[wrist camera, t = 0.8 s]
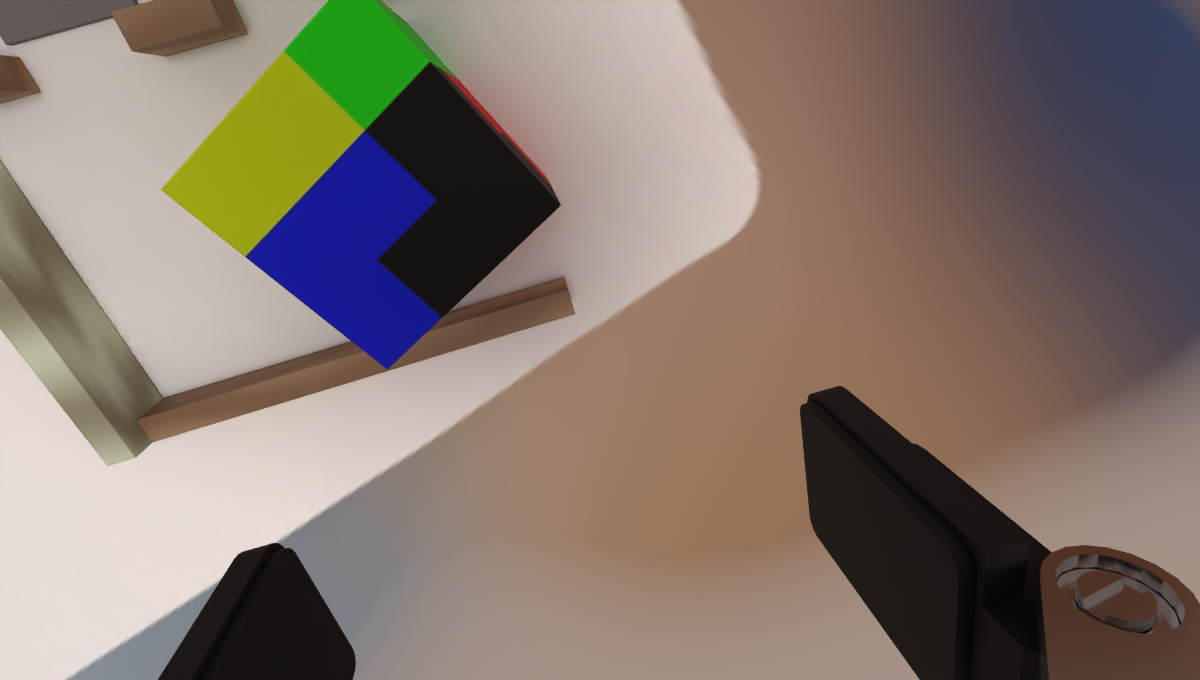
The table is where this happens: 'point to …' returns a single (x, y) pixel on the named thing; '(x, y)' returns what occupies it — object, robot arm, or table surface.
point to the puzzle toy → (365, 179)
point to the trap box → (96, 350)
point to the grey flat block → (51, 16)
